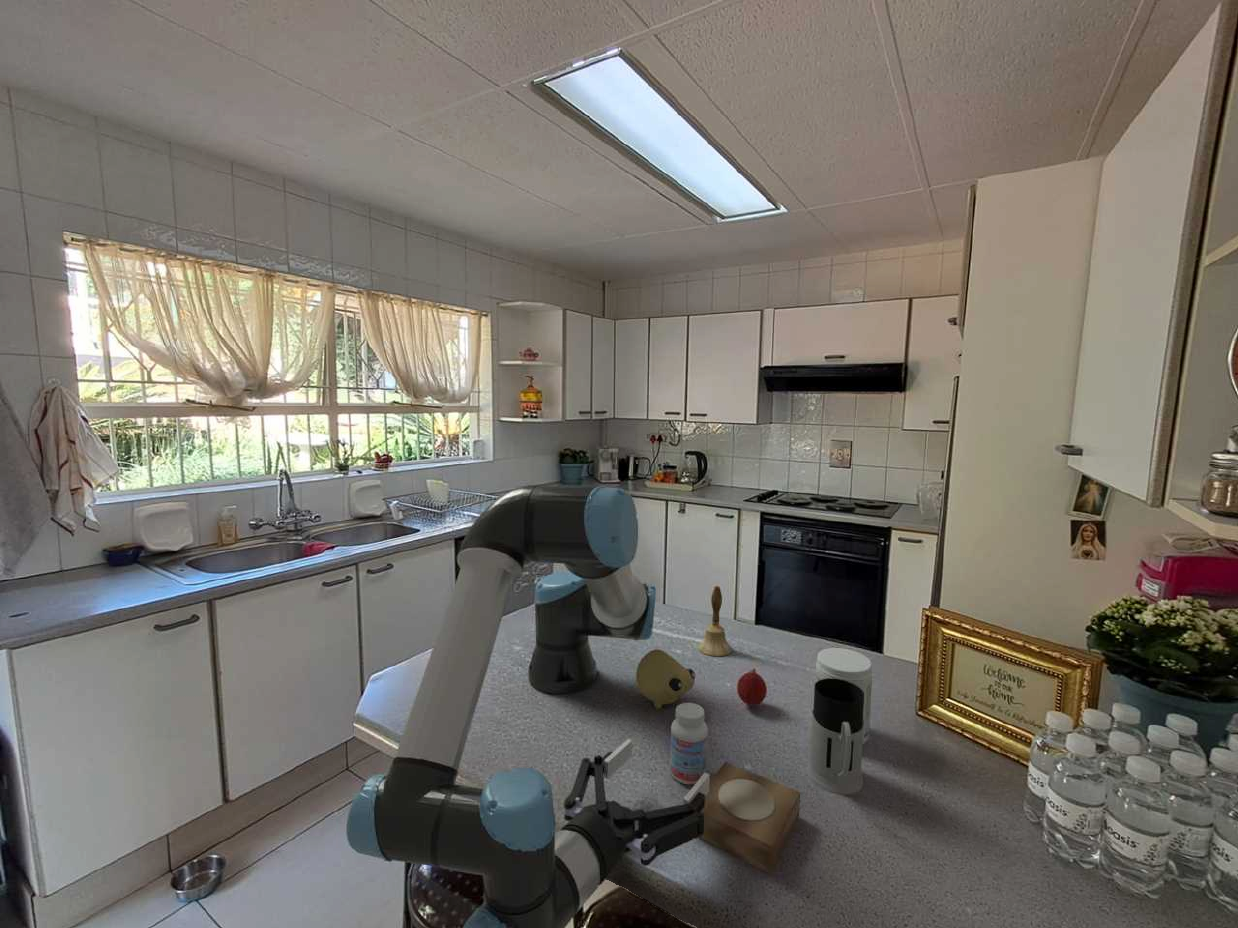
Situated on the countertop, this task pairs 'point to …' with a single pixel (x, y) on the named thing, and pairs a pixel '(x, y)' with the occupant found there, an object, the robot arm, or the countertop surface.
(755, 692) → the onion
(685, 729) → the pill bottle
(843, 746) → the glass holder
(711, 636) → the hand bell
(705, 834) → the walnut plinth
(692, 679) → the toy pig
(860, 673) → the supplement tub
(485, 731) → the countertop surface
